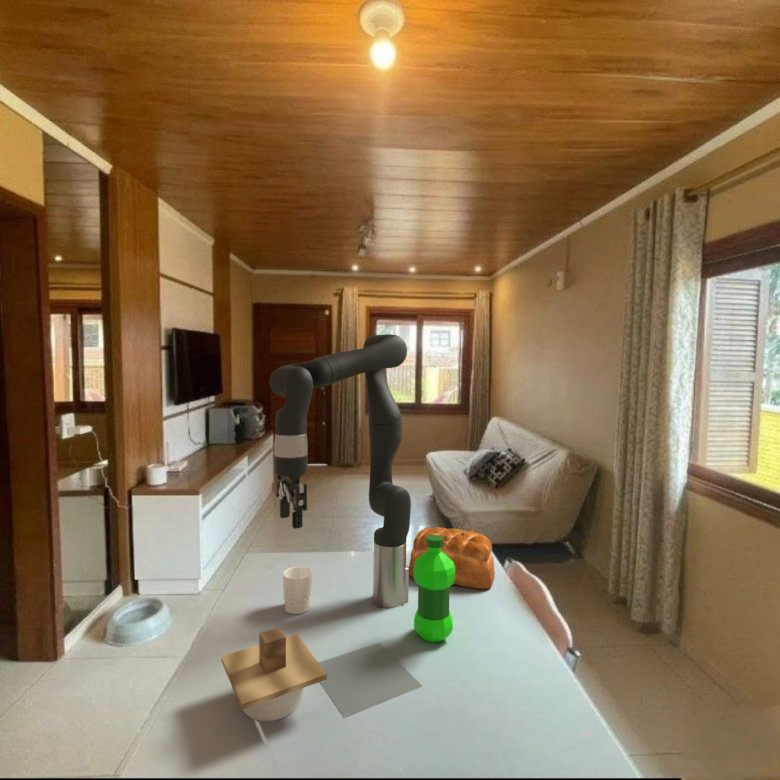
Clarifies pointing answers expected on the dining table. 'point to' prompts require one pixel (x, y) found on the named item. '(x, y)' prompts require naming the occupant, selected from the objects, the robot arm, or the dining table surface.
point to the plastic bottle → (433, 591)
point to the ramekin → (275, 707)
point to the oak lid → (271, 668)
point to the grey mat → (365, 679)
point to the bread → (461, 555)
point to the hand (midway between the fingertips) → (290, 522)
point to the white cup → (297, 589)
